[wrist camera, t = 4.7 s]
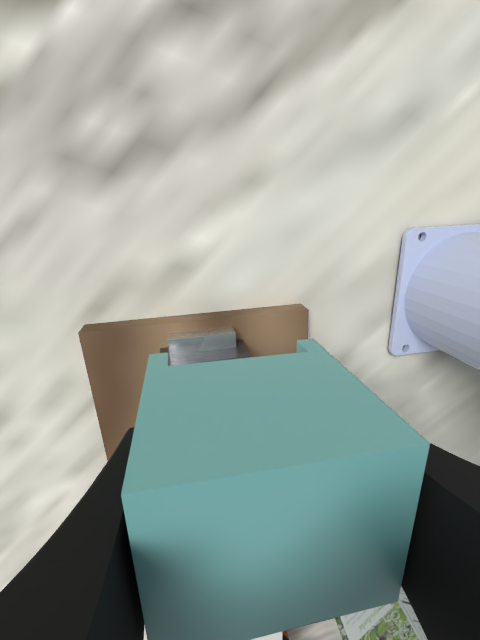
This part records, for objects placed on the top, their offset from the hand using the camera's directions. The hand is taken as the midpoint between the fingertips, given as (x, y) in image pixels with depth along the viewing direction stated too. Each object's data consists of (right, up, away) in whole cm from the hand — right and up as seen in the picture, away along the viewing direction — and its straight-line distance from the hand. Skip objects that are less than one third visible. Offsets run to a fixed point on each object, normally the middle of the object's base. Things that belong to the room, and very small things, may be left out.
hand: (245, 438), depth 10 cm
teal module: (0, +1, +1) cm, 2 cm away
